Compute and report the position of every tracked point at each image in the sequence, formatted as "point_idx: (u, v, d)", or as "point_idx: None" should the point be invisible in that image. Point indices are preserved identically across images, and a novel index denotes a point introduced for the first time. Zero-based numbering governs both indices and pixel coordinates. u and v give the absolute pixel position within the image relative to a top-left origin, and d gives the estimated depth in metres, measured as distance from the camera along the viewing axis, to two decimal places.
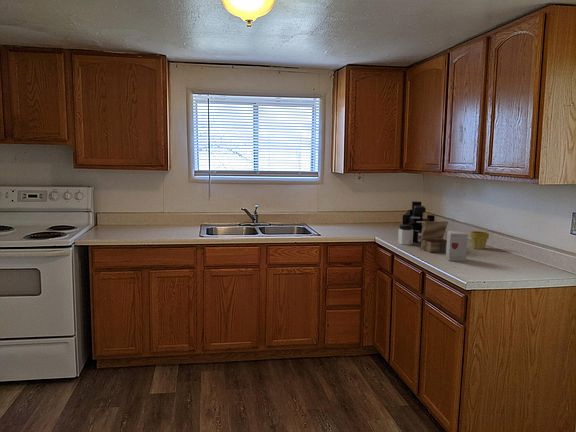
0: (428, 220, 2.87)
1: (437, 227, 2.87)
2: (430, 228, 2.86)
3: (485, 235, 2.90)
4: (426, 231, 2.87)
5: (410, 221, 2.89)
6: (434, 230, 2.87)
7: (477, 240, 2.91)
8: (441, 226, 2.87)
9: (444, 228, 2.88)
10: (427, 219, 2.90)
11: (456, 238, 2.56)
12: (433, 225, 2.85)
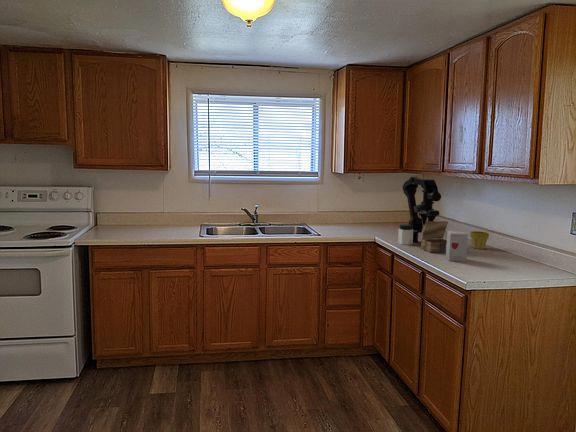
0: None
1: (437, 227, 2.87)
2: (430, 228, 2.86)
3: (485, 235, 2.90)
4: (426, 231, 2.87)
5: None
6: (434, 230, 2.87)
7: (477, 240, 2.91)
8: (441, 226, 2.87)
9: (444, 228, 2.88)
10: (428, 220, 2.93)
11: (456, 238, 2.56)
12: (433, 225, 2.85)
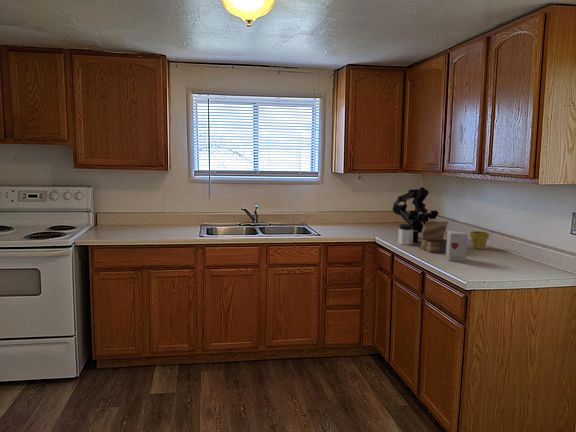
0: None
1: (437, 227, 2.87)
2: (430, 228, 2.86)
3: (485, 235, 2.90)
4: (426, 231, 2.87)
5: None
6: (434, 230, 2.87)
7: (477, 240, 2.91)
8: (441, 226, 2.87)
9: (444, 228, 2.88)
10: None
11: (456, 238, 2.56)
12: (433, 225, 2.85)
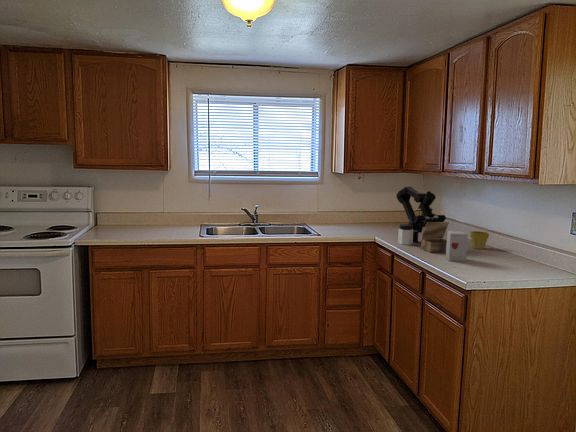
0: None
1: (437, 228, 2.86)
2: (430, 229, 2.86)
3: (485, 235, 2.90)
4: (426, 231, 2.86)
5: None
6: (434, 230, 2.87)
7: (477, 240, 2.91)
8: (441, 227, 2.86)
9: (444, 229, 2.88)
10: None
11: (456, 238, 2.56)
12: (434, 226, 2.85)
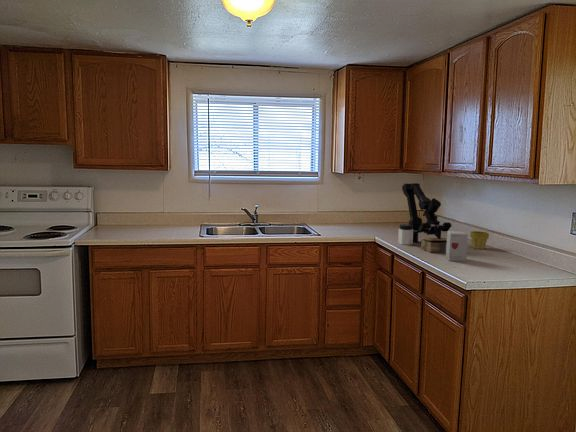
0: (437, 237, 2.83)
1: None
2: None
3: (485, 235, 2.90)
4: None
5: None
6: None
7: (477, 240, 2.91)
8: None
9: None
10: None
11: (456, 238, 2.56)
12: None
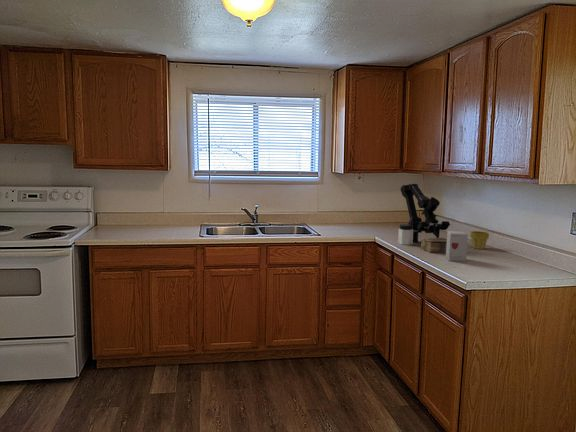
0: (436, 236, 2.85)
1: None
2: None
3: (485, 235, 2.90)
4: (428, 240, 2.85)
5: None
6: (436, 240, 2.85)
7: (477, 240, 2.91)
8: None
9: None
10: None
11: (456, 238, 2.56)
12: None
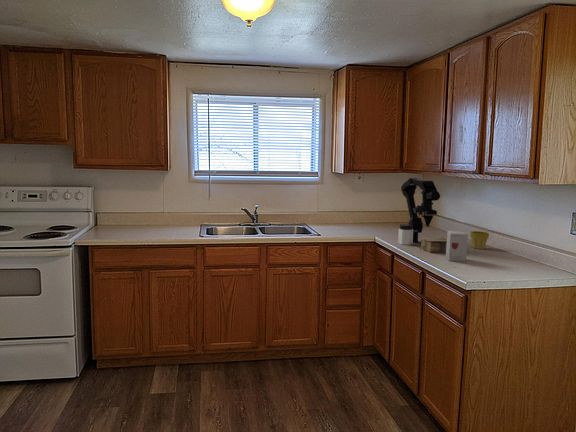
0: (426, 224, 2.95)
1: None
2: None
3: (485, 235, 2.90)
4: (428, 240, 2.85)
5: None
6: (436, 240, 2.85)
7: (477, 240, 2.91)
8: None
9: None
10: (426, 220, 2.95)
11: (456, 238, 2.56)
12: None
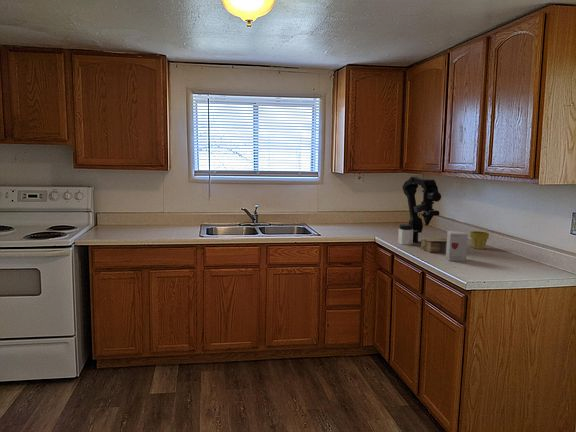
0: (426, 223, 2.96)
1: None
2: None
3: (485, 235, 2.90)
4: (428, 240, 2.85)
5: None
6: (436, 240, 2.85)
7: (477, 240, 2.91)
8: None
9: None
10: (425, 219, 2.96)
11: (455, 238, 2.56)
12: None
